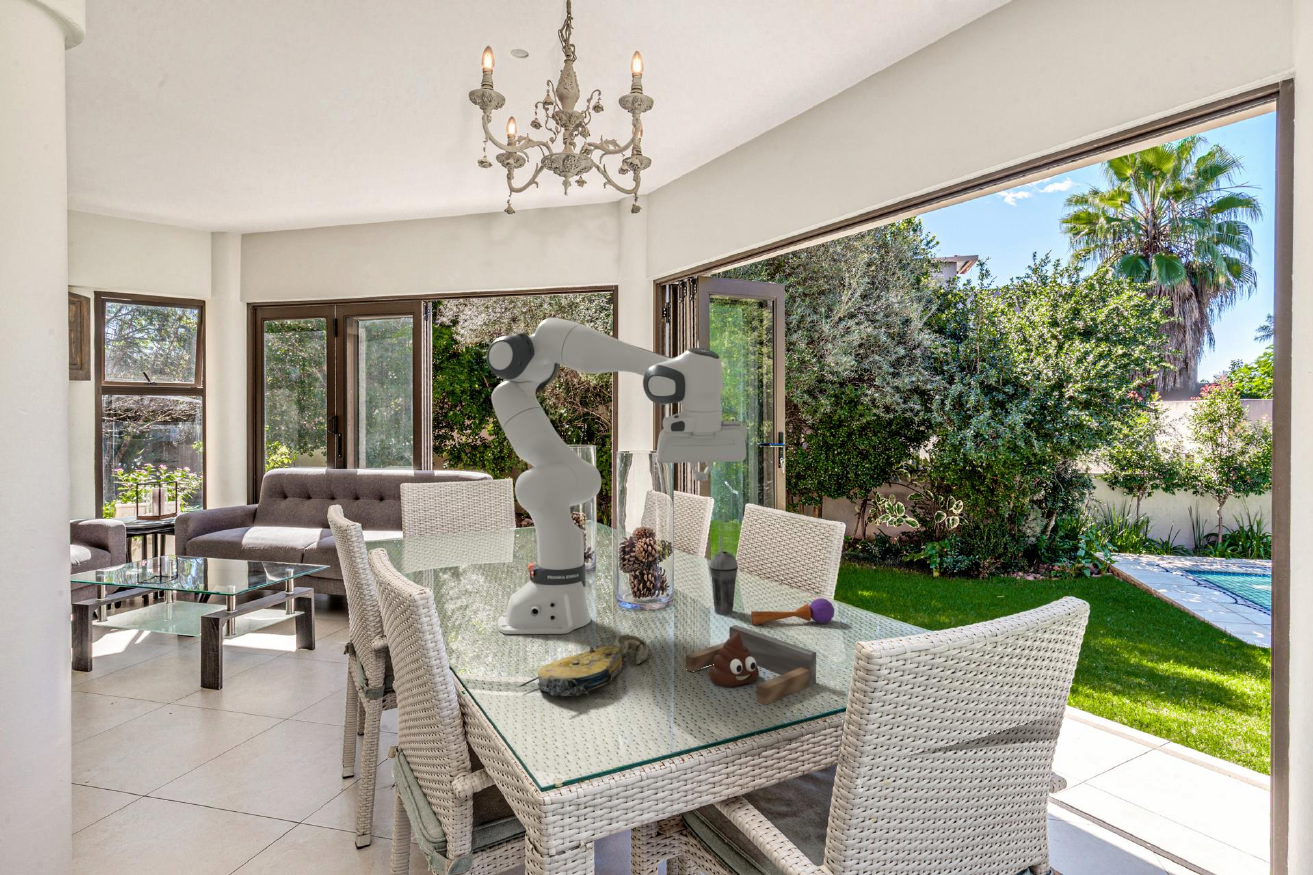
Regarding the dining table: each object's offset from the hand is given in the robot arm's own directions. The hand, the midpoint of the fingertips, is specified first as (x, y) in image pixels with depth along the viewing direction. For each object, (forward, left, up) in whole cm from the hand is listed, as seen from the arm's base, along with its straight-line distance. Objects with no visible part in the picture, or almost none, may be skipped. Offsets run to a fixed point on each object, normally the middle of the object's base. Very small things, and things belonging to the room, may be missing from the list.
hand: (700, 480), depth 159 cm
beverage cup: (+10, +14, -36) cm, 40 cm away
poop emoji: (0, -27, -36) cm, 45 cm away
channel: (+3, -26, -36) cm, 44 cm away
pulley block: (-26, -20, -36) cm, 49 cm away
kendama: (+24, +3, -36) cm, 43 cm away
